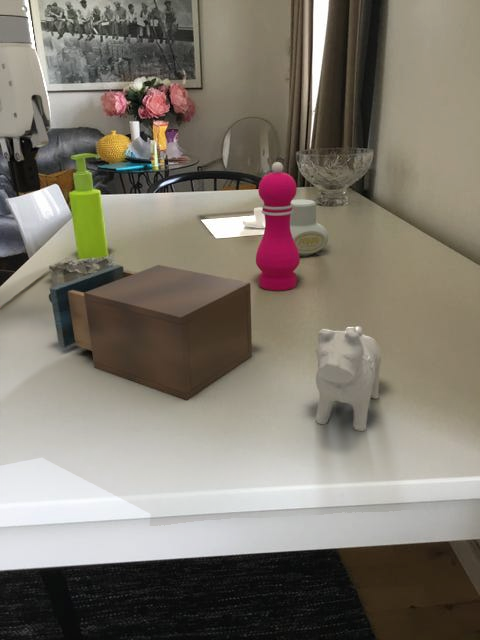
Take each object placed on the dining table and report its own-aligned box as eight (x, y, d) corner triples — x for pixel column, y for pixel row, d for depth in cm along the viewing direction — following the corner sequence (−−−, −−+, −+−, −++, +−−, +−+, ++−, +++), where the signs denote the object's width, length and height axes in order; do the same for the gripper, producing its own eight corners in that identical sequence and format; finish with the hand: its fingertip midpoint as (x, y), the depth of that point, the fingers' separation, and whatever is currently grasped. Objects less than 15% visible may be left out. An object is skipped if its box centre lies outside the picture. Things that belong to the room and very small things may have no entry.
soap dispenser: (118, 255, 114) (106, 153, 107) (88, 263, 110) (74, 157, 102) (102, 250, 118) (89, 151, 110) (72, 258, 113) (57, 155, 106)
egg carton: (49, 289, 96) (45, 266, 94) (59, 276, 103) (55, 254, 101) (112, 286, 96) (109, 263, 95) (118, 273, 103) (115, 251, 102)
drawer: (37, 338, 75) (27, 282, 72) (102, 311, 83) (95, 260, 80) (134, 371, 65) (127, 308, 62) (196, 336, 74) (193, 280, 71)
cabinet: (94, 367, 68) (83, 292, 65) (164, 331, 78) (158, 264, 74) (186, 400, 61) (180, 317, 57) (252, 356, 70) (250, 282, 66)
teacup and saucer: (245, 231, 130) (245, 213, 129) (237, 223, 138) (237, 207, 136) (281, 228, 132) (281, 210, 131) (272, 221, 139) (272, 204, 138)
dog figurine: (301, 444, 53) (303, 340, 49) (334, 380, 64) (337, 291, 60) (358, 455, 51) (365, 348, 47) (382, 388, 62) (388, 297, 58)
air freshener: (316, 244, 118) (317, 196, 114) (334, 254, 111) (336, 203, 107) (267, 250, 115) (266, 200, 111) (282, 260, 108) (282, 208, 104)
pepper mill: (293, 276, 99) (294, 158, 91) (304, 290, 92) (306, 163, 85) (252, 279, 98) (250, 160, 90) (261, 293, 91) (259, 166, 83)
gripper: (-63, 39, 69) (-31, 191, 76) (10, 29, 61) (39, 200, 68) (-8, 42, 75) (17, 183, 82) (66, 33, 67) (87, 190, 74)
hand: (27, 190), depth 75 cm, fingers closed
